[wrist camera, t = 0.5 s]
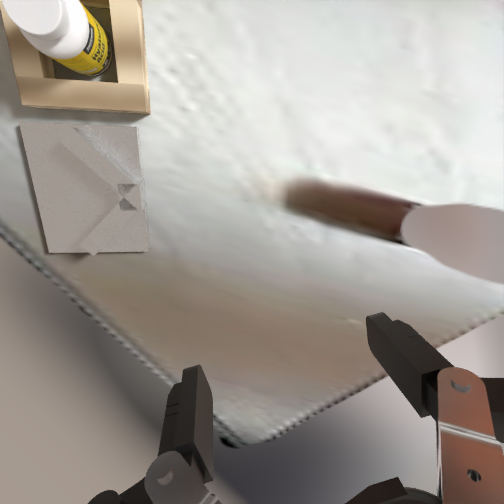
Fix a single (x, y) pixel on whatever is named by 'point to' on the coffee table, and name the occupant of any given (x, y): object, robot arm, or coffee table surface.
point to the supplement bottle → (63, 33)
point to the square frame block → (86, 92)
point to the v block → (88, 186)
